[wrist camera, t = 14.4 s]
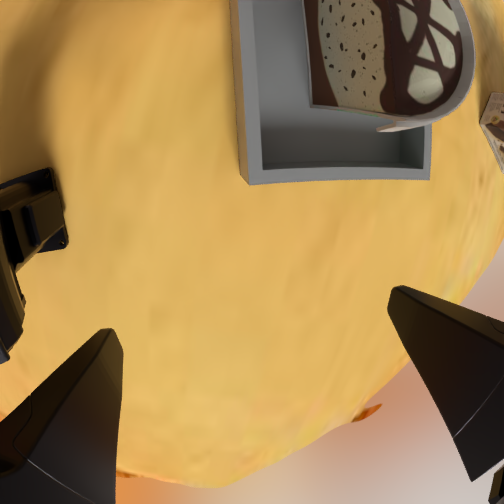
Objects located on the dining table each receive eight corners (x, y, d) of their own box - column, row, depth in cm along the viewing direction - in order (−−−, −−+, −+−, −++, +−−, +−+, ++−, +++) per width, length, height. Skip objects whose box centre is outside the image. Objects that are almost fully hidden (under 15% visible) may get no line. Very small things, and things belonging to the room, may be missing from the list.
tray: (240, 174, 19) (249, 185, 15) (226, -50, 11) (232, -77, 7) (398, 170, 21) (429, 180, 17) (379, -24, 12) (404, -38, 9)
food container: (383, 133, 18) (487, 151, 9) (310, 128, 17) (406, 134, 8) (369, -3, 13) (452, -42, 4) (297, -19, 12) (361, -88, 3)
